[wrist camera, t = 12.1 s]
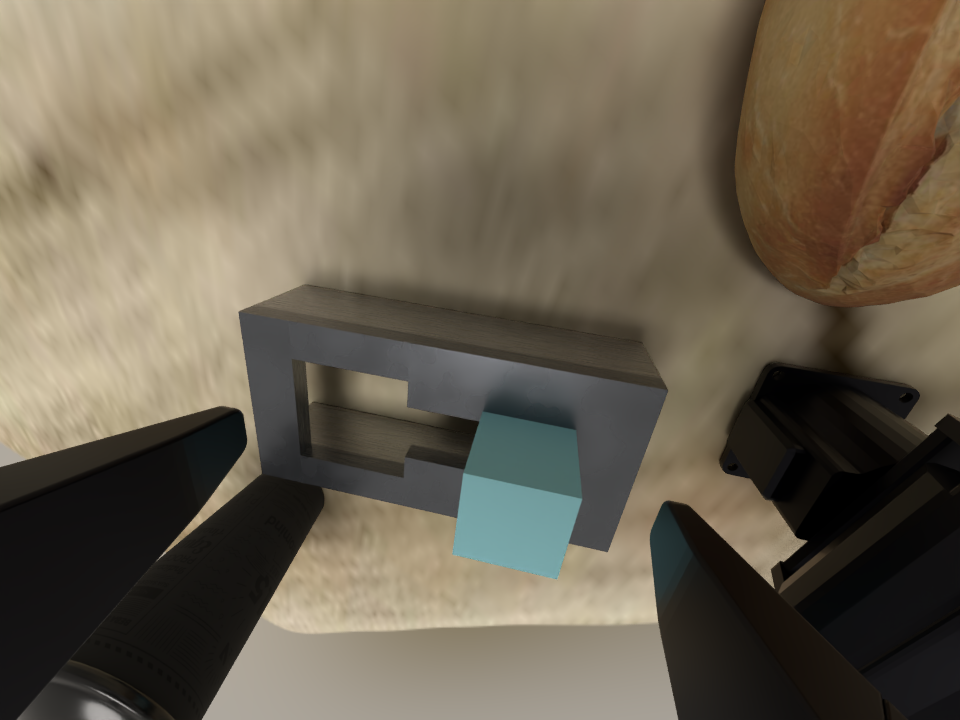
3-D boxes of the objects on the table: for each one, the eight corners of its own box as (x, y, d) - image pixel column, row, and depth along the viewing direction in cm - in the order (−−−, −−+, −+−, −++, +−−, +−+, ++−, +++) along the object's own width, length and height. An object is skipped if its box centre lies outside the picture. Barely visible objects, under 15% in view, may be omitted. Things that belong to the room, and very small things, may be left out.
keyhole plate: (642, 342, 20) (668, 390, 15) (597, 481, 23) (607, 552, 19) (304, 284, 21) (238, 311, 17) (314, 421, 25) (262, 473, 21)
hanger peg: (577, 386, 20) (589, 495, 13) (558, 456, 22) (561, 584, 15) (490, 370, 20) (457, 467, 13) (480, 440, 22) (446, 556, 15)
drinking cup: (273, 534, 31) (-126, 1034, 13) (225, 454, 28) (-370, 946, 10) (359, 528, 29) (31, 1109, 11) (316, 441, 26) (-219, 1025, 8)
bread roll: (678, 292, 19) (757, 362, 11) (740, -168, 13) (988, -634, 5) (920, 287, 17) (1194, 366, 10) (1127, -252, 11) (2254, -1104, 4)
